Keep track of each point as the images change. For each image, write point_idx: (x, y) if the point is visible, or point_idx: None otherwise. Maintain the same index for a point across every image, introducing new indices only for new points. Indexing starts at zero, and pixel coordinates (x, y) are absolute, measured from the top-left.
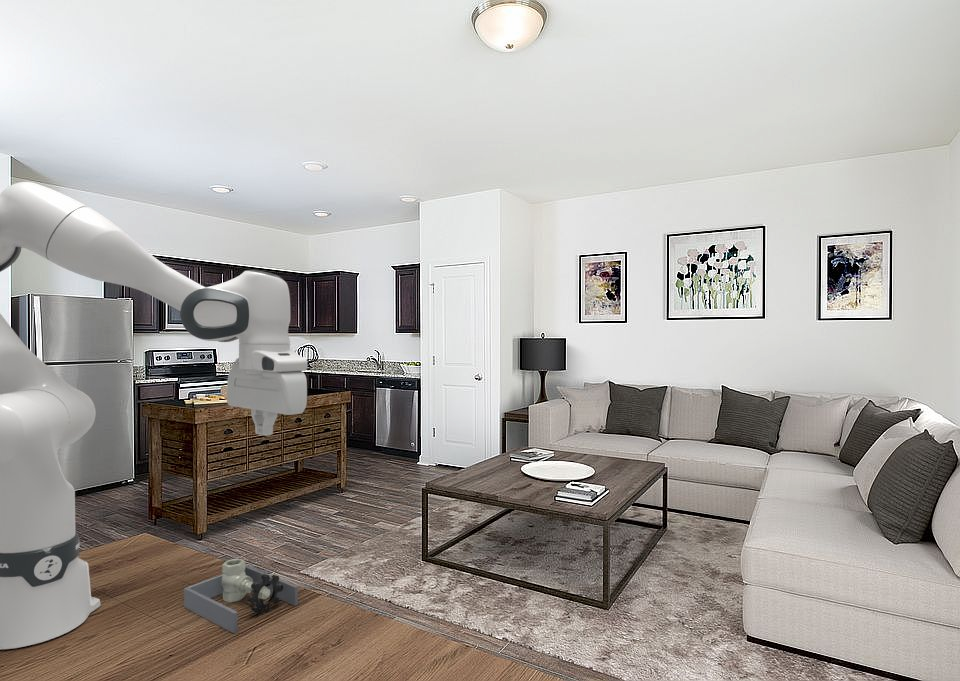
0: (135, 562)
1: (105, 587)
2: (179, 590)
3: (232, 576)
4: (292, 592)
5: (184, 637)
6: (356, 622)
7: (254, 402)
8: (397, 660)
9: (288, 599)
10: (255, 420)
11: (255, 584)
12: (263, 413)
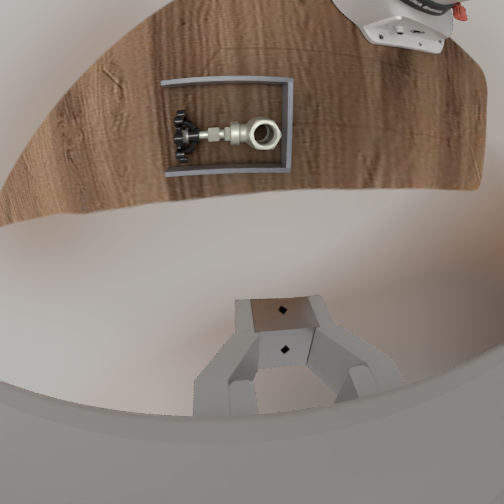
0: (440, 136)
1: (409, 76)
2: (337, 106)
3: (251, 124)
4: (172, 170)
5: (208, 45)
6: (87, 193)
7: (355, 456)
8: (21, 179)
9: (182, 167)
10: (338, 343)
11: (174, 119)
12: (247, 402)
